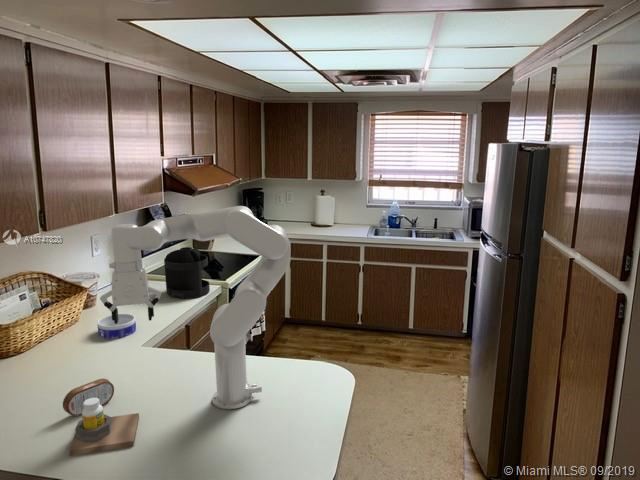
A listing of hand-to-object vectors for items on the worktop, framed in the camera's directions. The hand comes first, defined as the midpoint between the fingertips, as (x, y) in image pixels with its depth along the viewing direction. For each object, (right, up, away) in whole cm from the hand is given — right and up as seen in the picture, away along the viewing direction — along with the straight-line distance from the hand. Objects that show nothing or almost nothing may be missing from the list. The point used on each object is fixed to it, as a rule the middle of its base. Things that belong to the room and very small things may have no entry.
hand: (133, 320), depth 144 cm
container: (-16, -5, +117) cm, 118 cm away
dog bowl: (-32, -16, +63) cm, 73 cm away
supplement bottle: (-7, -30, -10) cm, 32 cm away
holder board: (-4, -31, -9) cm, 33 cm away
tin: (-15, -28, +4) cm, 32 cm away
